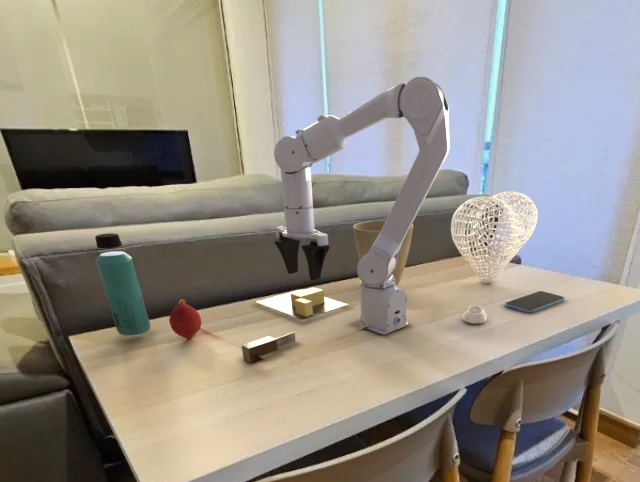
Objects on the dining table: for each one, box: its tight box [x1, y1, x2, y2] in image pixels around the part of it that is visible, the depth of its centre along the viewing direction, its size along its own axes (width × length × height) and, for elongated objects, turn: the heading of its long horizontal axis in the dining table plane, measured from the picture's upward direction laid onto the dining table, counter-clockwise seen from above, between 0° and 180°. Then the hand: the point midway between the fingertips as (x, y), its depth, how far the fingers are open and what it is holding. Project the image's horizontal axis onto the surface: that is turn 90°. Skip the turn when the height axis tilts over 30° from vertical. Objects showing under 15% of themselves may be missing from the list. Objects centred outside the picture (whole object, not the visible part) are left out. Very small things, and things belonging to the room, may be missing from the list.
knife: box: [241, 331, 296, 365], centre depth 86 cm, size 11×2×3 cm, turn 136°
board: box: [255, 289, 350, 321], centre depth 109 cm, size 18×14×1 cm
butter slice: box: [295, 298, 313, 317], centre depth 102 cm, size 4×2×3 cm, turn 46°
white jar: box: [462, 305, 488, 325], centre depth 100 cm, size 5×3×5 cm
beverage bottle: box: [94, 232, 152, 336], centre depth 89 cm, size 6×7×20 cm
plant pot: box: [352, 219, 414, 288], centre depth 118 cm, size 15×15×16 cm
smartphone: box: [504, 290, 565, 314], centre depth 110 cm, size 7×1×15 cm
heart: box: [450, 190, 539, 284], centre depth 121 cm, size 28×16×22 cm, turn 139°
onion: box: [168, 299, 202, 340], centre depth 91 cm, size 6×6×8 cm
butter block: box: [291, 286, 325, 307], centre depth 107 cm, size 4×7×3 cm, turn 136°
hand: (303, 276), depth 98 cm, fingers open, 7 cm apart
